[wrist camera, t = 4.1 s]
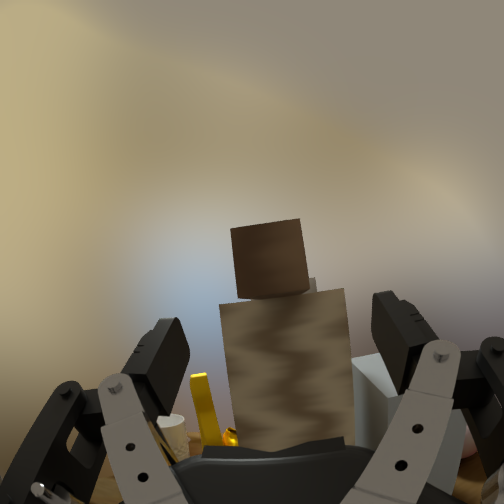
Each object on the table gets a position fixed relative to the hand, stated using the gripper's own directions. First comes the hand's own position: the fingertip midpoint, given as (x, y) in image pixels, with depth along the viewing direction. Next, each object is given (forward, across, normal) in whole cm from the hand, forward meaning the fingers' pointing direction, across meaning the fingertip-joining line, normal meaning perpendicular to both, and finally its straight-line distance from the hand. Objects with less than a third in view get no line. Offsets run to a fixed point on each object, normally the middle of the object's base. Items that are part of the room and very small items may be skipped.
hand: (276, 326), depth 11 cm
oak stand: (+2, 0, +37) cm, 37 cm away
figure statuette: (+10, +12, +42) cm, 45 cm away
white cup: (+17, +26, +46) cm, 55 cm away
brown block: (+14, 0, +6) cm, 15 cm away
